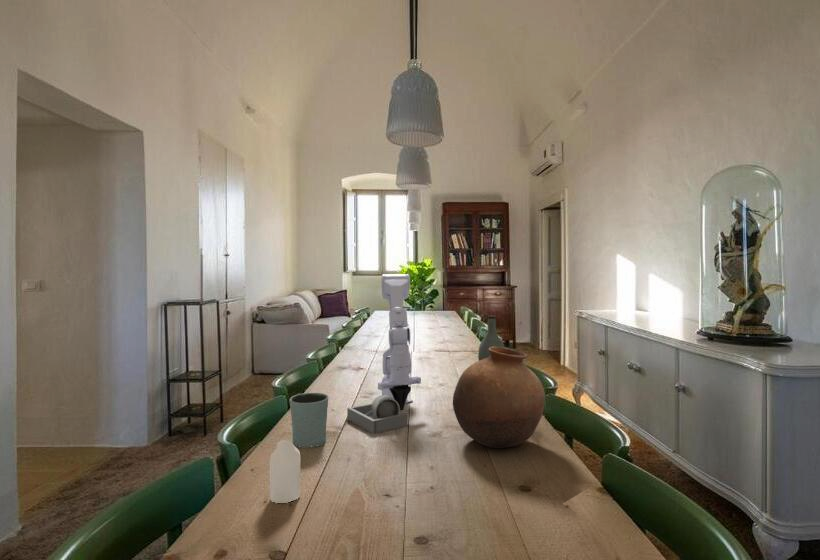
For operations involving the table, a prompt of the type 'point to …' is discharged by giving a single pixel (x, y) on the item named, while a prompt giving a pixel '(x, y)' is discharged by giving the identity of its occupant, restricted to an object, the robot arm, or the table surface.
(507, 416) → the pottery
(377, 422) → the box
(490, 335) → the bottle
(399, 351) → the robot arm
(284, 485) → the white shouldered tall container
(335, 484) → the table surface
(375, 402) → the ceramic mug
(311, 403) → the green tapered cup
